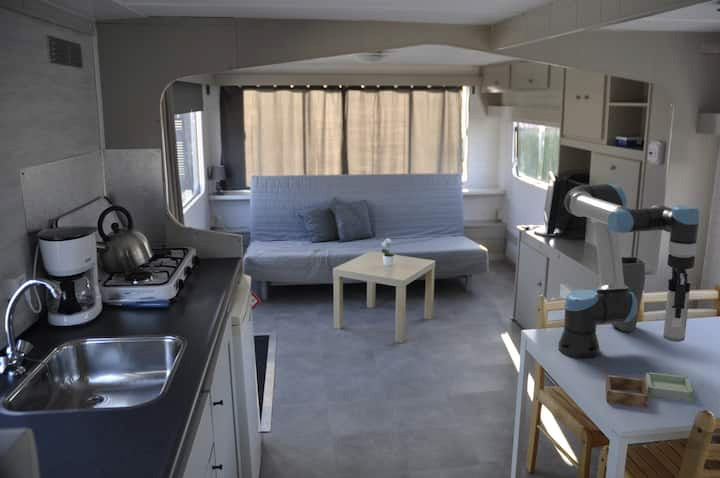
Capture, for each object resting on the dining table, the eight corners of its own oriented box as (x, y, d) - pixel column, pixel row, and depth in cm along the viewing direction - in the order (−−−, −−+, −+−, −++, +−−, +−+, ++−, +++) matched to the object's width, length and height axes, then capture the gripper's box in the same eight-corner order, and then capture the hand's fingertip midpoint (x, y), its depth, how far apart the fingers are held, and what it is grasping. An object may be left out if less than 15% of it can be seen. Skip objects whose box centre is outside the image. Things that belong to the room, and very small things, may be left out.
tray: (648, 395, 199) (649, 387, 199) (644, 379, 210) (645, 371, 210) (692, 401, 195) (693, 393, 194) (686, 384, 206) (687, 376, 205)
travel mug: (658, 335, 201) (663, 277, 196) (677, 334, 201) (683, 276, 197) (669, 342, 195) (675, 283, 190) (688, 341, 195) (695, 282, 191)
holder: (606, 402, 196) (607, 390, 195) (605, 385, 207) (606, 374, 206) (647, 407, 192) (648, 396, 191) (643, 390, 203) (644, 379, 202)
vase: (634, 323, 261) (640, 256, 254) (644, 334, 249) (650, 264, 242) (605, 322, 263) (610, 256, 256) (613, 333, 251) (618, 263, 244)
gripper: (700, 263, 182) (692, 335, 187) (690, 247, 199) (683, 313, 205) (672, 261, 184) (665, 332, 190) (664, 246, 202) (658, 311, 207)
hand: (674, 322), depth 197 cm, fingers closed on travel mug, 6 cm apart
